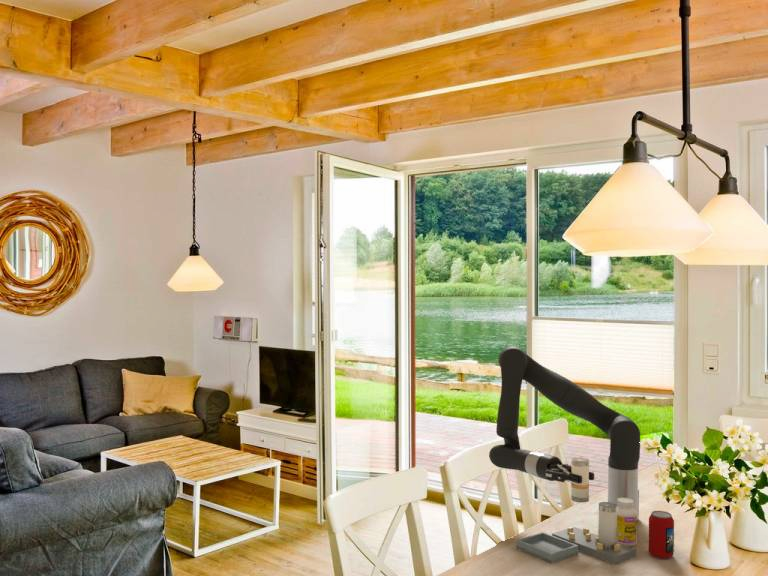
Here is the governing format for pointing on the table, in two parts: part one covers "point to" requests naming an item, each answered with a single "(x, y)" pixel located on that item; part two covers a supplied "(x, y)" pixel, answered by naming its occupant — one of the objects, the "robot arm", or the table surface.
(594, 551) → the block
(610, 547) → the cylinder
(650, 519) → the beverage can
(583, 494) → the marked fuse
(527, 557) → the table surface
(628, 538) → the supplement bottle
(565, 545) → the tray
